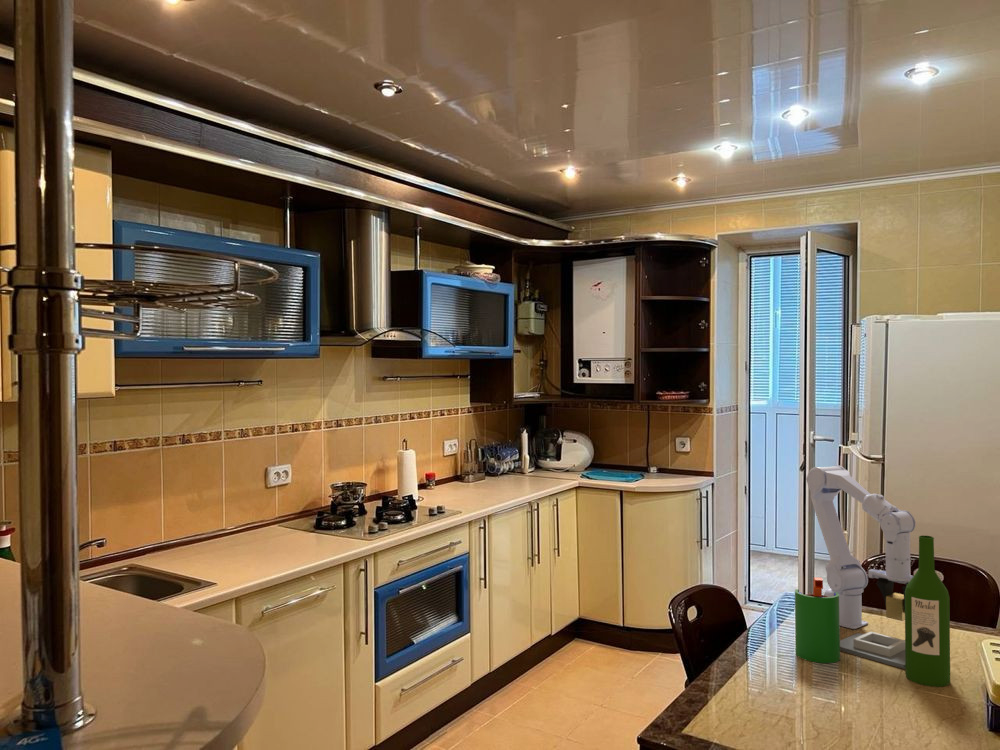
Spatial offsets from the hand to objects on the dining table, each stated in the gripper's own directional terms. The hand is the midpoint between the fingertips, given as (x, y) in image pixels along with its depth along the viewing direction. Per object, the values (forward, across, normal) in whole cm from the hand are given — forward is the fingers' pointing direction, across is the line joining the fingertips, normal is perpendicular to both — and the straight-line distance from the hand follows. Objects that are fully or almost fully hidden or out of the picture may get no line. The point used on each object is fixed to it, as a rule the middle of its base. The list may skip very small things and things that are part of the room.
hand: (898, 610), depth 197 cm
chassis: (+8, 0, -10) cm, 13 cm away
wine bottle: (+9, +15, -19) cm, 26 cm away
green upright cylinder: (+9, -8, -25) cm, 28 cm away
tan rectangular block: (+2, 0, 0) cm, 2 cm away
